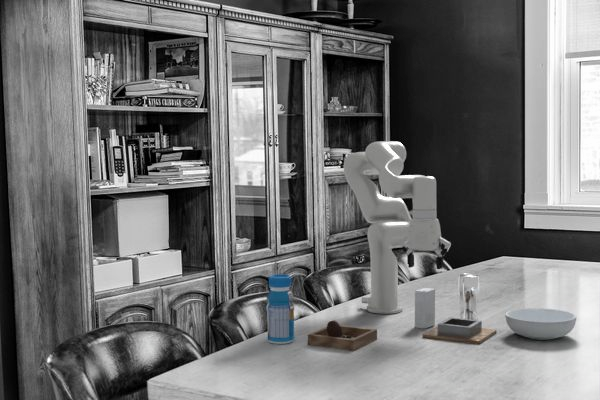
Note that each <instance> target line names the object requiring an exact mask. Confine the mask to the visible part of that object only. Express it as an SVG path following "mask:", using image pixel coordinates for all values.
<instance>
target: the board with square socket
mask: <svg viewBox="0 0 600 400" xmlns="http://www.w3.org/2000/svg"><path fill="white" fill-rule="evenodd" d="M482 326H483V325H482V320H480V319H478V320H470V319H460V317H459V318H458V317H452V316H451V317H448V318H447V319H444V320H443V321H441V322H438V323H437V325H436V326H435V327H433V328H431V329H429V330H428V331H426V332H424V333H422V338H424V339H425V338H426V339H430V340H431V339H433V340H442V341H449V342H457V343H466V344H473V345H474V344H475V345H481V344H482V343H484V342H485V341H487V340H488V339H489V338H491V337H493V336H494V335H495V334H497V329H492V328H484V327H482Z"/></svg>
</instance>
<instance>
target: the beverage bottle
mask: <svg viewBox="0 0 600 400" xmlns="http://www.w3.org/2000/svg"><path fill="white" fill-rule="evenodd" d="M268 287H269V288H270V290H269V291H268V293H267V296H266V301H267V304H266V313H267V314H266V315H267V316H266V317H267V318H266V319H267V321H266V322H267V323H266V324H267V341H268V342H269V343H270V344H273V345H286V344H290V343H293V342H294V340H295V304H294V299H295V297H294V294H293V292H292V290H291V289H290V288H291V287H292V276H291V275H289V274H280V273H279V274H272V275H269V276H268Z"/></svg>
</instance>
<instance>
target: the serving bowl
mask: <svg viewBox="0 0 600 400" xmlns="http://www.w3.org/2000/svg"><path fill="white" fill-rule="evenodd" d="M504 317H505V321H506V324H507V326H508V327H509V328H510V330H511V331H512V332H514V333H515V334H517V335H520V336H522V337H525V338H528V339H531V340H537V341H538V340H539V341H541V340H542V341H546V340H548V341H549V340H553V339H557V338H561V337H564V336H566V335H569V333H571V332H572V330H573V329H574V328H575V326H576V322H577V315H576V314H575V313H573V312H570V311H565V310H561V309H553V308H543V307H541V308H538V307H536V308H535V307H534V308H533V307H532V308H531V307H530V308H528V307H527V308H517V309H512V310H508V311H507V312H505V316H504Z"/></svg>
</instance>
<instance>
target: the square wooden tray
mask: <svg viewBox="0 0 600 400" xmlns="http://www.w3.org/2000/svg"><path fill="white" fill-rule="evenodd" d="M339 325H340V327H341V330H342V336H343V335H346V336H351V337H353V339H347V338H339V337H331V336H329V335H328V332H327V326H325V327H323V328H320V329H318V330H315V331H314V332H310V333H309V334H307V345H310V346H315V347H316V346H317V347H321V348H323V347H325V348H330V349H331V348H332V349H337V350H346V351H352V352H353V351H356V350H358V349H360V348H363V347H364V346H367V345H368V344H370V343H373V342H375V341H376V340H378V329H376V328H368V327H359V326H352V325H351V326H350V325H343V324H339Z"/></svg>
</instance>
